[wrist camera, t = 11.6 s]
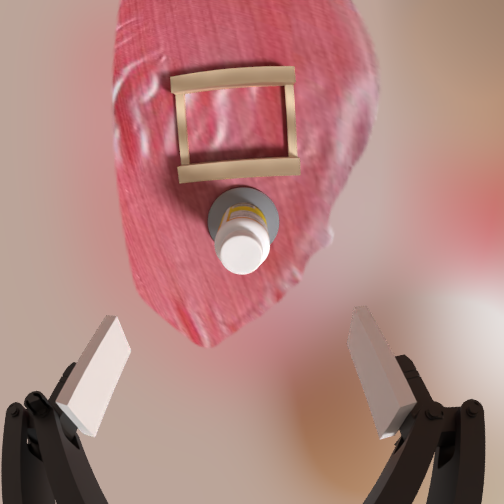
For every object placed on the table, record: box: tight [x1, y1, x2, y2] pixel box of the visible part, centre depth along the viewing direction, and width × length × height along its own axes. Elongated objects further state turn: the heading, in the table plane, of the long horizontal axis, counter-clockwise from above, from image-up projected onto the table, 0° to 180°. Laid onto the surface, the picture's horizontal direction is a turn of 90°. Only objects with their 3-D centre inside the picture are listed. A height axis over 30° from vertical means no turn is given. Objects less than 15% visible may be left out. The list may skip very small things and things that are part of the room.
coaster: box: [208, 187, 279, 244], centre depth 35 cm, size 9×9×1 cm
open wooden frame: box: [170, 66, 300, 184], centre depth 29 cm, size 13×14×2 cm
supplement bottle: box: [215, 202, 270, 274], centre depth 30 cm, size 6×6×10 cm
